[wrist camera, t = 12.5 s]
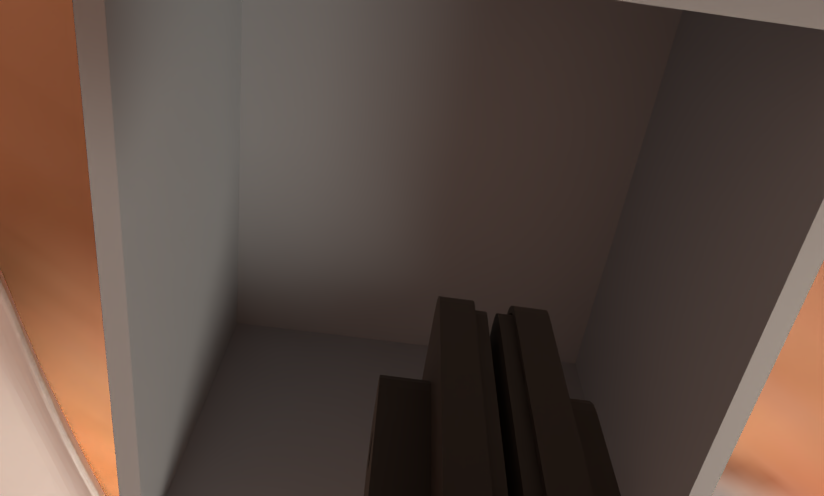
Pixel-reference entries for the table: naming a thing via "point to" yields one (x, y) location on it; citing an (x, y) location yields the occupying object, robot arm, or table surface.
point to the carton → (442, 218)
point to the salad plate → (34, 422)
